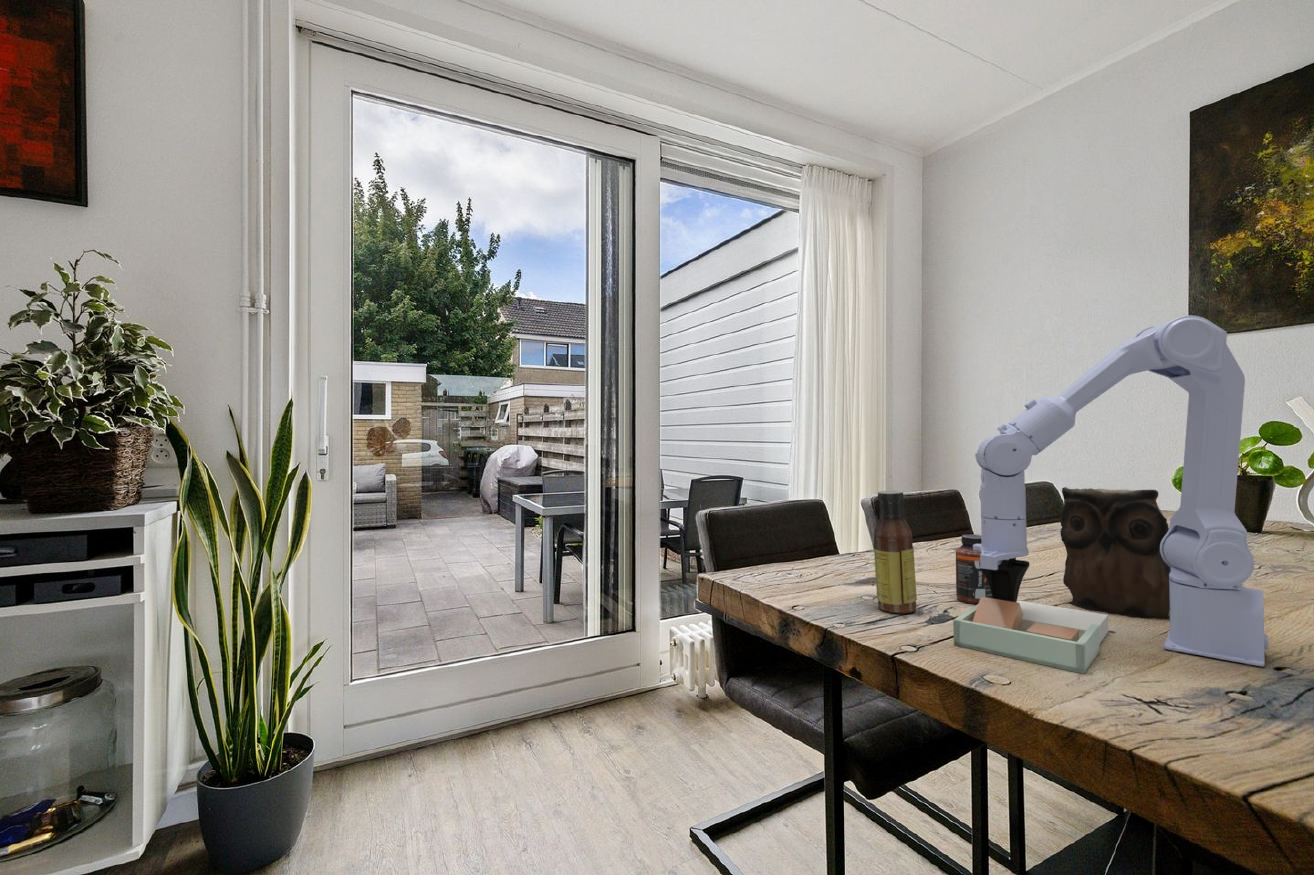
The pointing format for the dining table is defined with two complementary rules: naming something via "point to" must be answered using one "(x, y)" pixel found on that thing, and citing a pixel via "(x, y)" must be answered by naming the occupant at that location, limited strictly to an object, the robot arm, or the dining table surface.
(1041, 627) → the tile
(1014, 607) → the tile
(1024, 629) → the board
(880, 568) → the sauce bottle
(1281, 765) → the dining table surface
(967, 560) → the supplement bottle
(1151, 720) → the dining table surface
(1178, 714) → the dining table surface
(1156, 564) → the owl
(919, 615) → the dining table surface
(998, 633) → the tray
